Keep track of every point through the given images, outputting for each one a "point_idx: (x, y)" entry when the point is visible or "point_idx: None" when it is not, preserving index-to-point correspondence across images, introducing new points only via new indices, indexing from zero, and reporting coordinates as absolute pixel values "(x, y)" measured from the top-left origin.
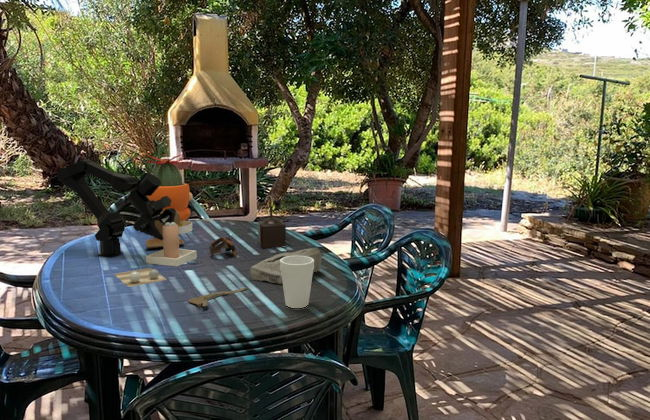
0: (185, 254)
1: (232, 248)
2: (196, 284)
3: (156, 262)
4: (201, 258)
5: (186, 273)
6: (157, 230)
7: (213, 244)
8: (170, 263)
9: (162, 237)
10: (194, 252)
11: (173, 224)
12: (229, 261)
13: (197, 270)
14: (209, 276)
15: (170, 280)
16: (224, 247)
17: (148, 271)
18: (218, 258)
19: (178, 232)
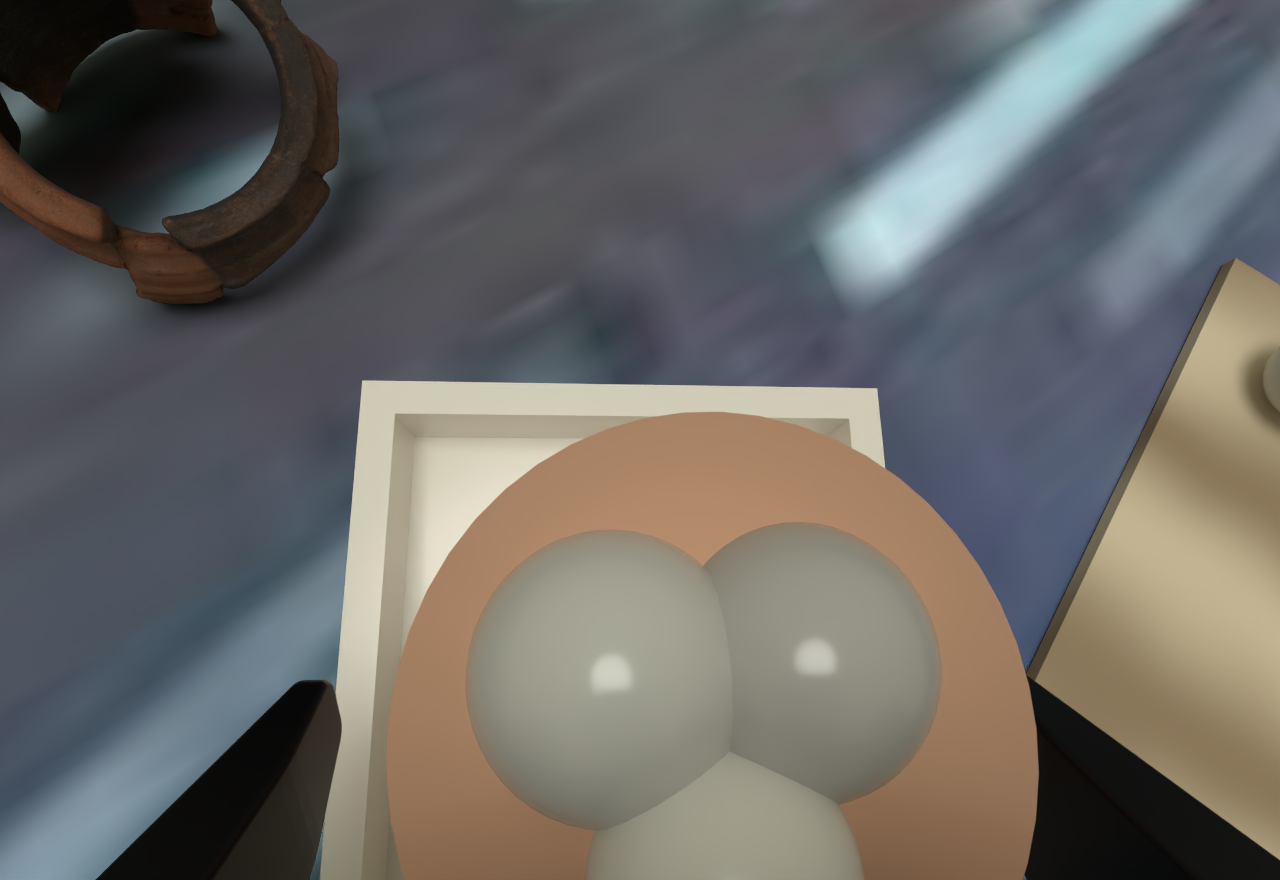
0: (399, 569)
1: (22, 41)
2: (1150, 10)
3: None
4: (370, 365)
5: (951, 227)
6: (1250, 877)
7: (88, 202)
8: None
9: (1029, 679)
10: (426, 387)
11: (700, 577)
12: (401, 25)
13: (821, 177)
14: (929, 3)
15: (1188, 253)
16: None
17: (1146, 610)
18: None
19: (305, 683)
